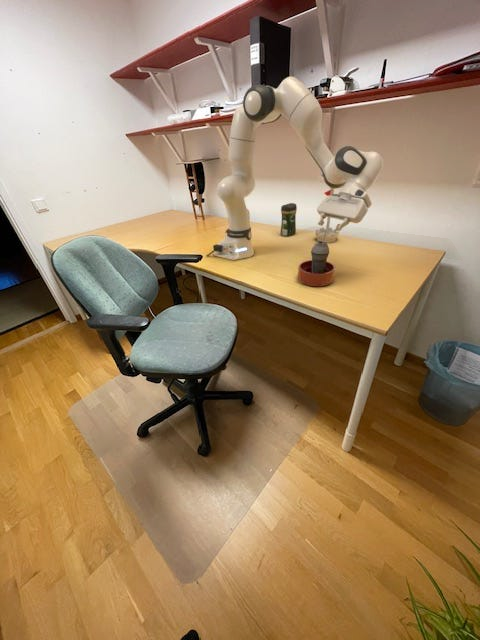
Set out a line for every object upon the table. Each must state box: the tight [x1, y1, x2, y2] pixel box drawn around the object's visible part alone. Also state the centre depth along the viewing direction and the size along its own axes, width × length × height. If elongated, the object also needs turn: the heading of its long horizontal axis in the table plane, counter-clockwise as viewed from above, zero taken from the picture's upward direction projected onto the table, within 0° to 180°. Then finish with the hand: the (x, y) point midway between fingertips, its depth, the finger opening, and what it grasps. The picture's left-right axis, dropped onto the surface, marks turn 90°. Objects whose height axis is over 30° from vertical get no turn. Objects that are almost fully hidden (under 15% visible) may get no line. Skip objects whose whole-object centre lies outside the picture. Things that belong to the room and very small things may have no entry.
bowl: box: [297, 259, 336, 287], centre depth 109 cm, size 15×15×6 cm
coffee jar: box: [280, 202, 298, 237], centre depth 160 cm, size 10×8×19 cm
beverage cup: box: [310, 231, 330, 274], centre depth 105 cm, size 7×7×20 cm
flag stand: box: [315, 187, 340, 244], centre depth 144 cm, size 13×13×30 cm
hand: (328, 227), depth 100 cm, fingers open, 8 cm apart
